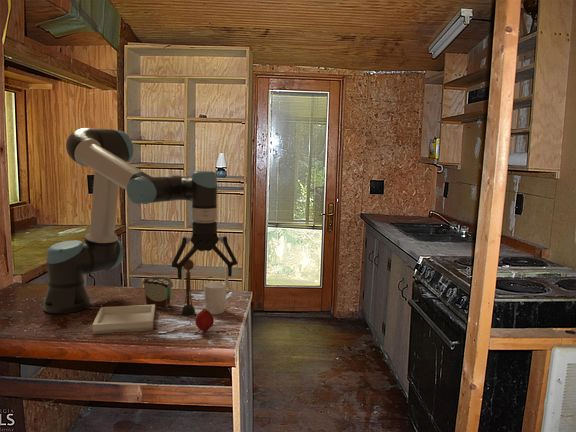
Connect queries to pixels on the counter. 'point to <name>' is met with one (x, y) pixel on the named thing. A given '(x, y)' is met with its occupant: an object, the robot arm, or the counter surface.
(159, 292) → the food container
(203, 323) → the onion
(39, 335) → the counter surface
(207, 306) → the white cup
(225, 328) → the counter surface
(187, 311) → the wooden tabletop sculpture
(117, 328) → the tray
